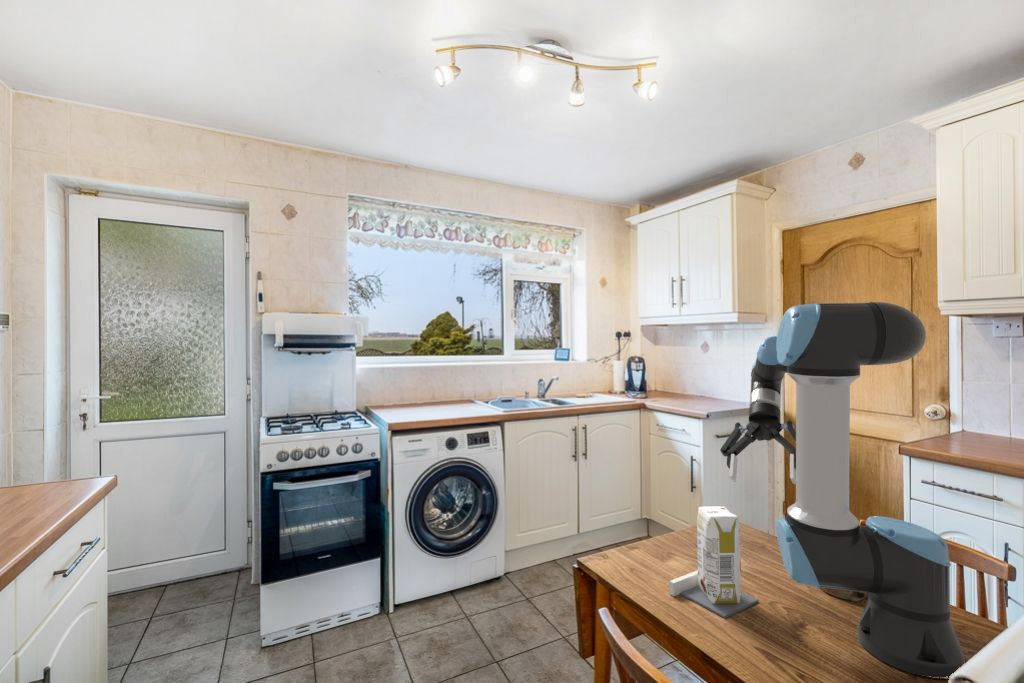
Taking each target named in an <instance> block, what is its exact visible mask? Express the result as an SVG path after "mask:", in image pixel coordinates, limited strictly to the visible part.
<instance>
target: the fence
mask: <svg viewBox="0 0 1024 683" xmlns="http://www.w3.org/2000/svg"><path fill="white" fill-rule="evenodd" d="M668 585H669V586H668V587H669V595H671V596H672V597H677V596H678V595H681V593H682V592H684V591H686V590H689V589H691V588H694V587H696V586H699V581H698V569H697V570H694V571H691V572H689V573H687V574H684V575H682V576H679V577H676V578H674V579H671V580H669V584H668Z"/></svg>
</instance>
